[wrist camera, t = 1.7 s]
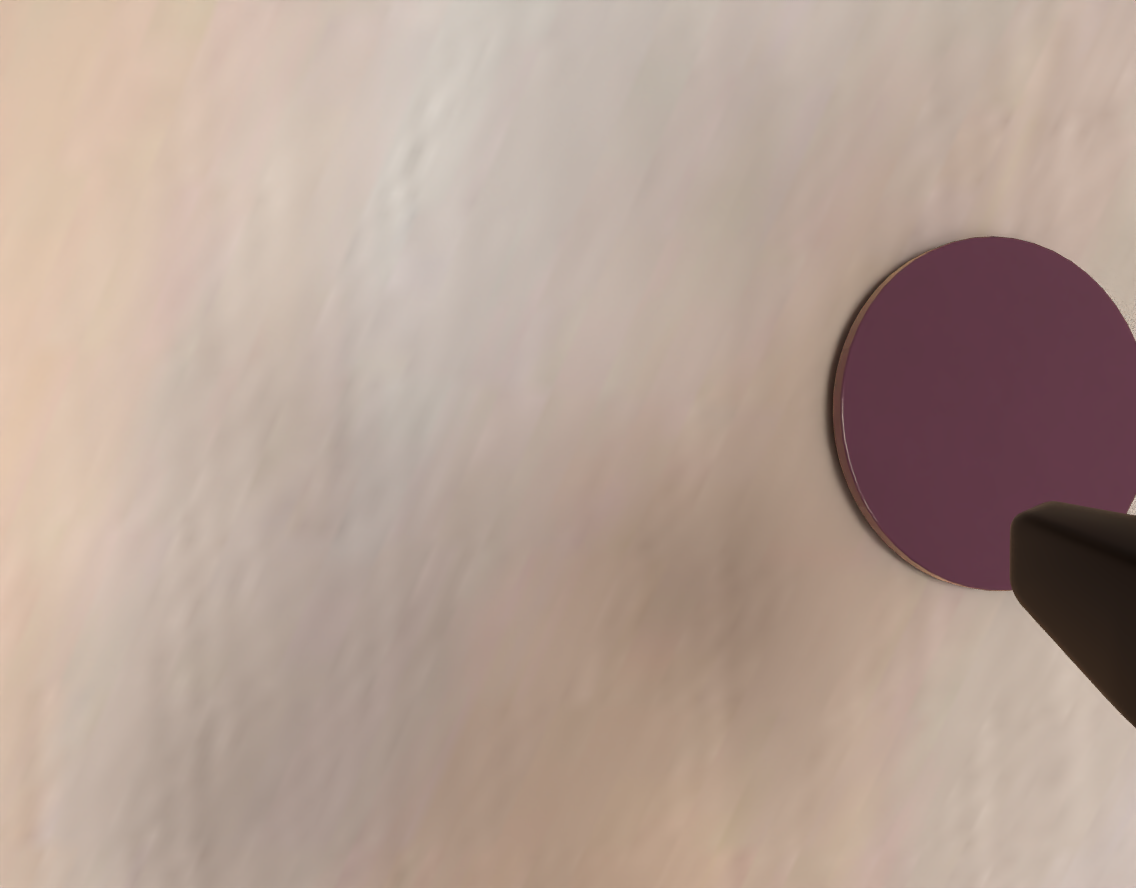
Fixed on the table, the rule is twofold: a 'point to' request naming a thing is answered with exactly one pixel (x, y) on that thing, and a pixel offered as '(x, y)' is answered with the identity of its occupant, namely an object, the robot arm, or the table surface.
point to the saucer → (983, 403)
